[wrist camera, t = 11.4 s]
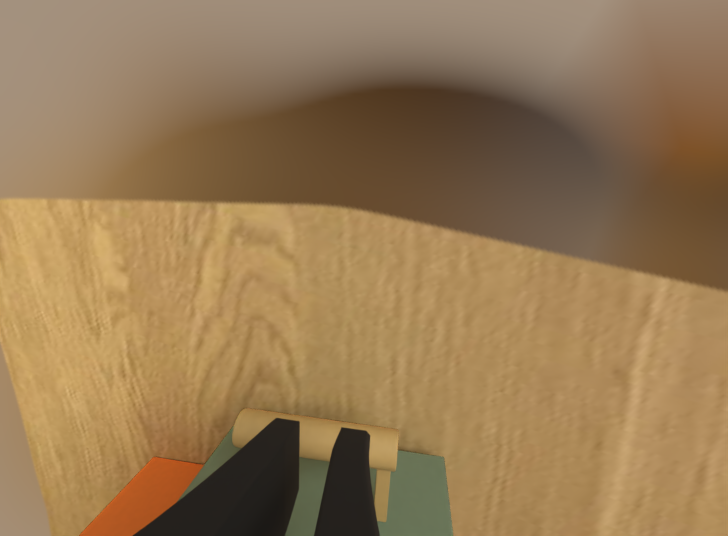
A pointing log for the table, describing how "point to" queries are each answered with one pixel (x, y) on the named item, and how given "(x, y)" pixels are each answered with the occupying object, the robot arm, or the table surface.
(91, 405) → the table surface
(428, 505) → the drawer
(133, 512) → the orange rectangular block
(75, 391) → the table surface
